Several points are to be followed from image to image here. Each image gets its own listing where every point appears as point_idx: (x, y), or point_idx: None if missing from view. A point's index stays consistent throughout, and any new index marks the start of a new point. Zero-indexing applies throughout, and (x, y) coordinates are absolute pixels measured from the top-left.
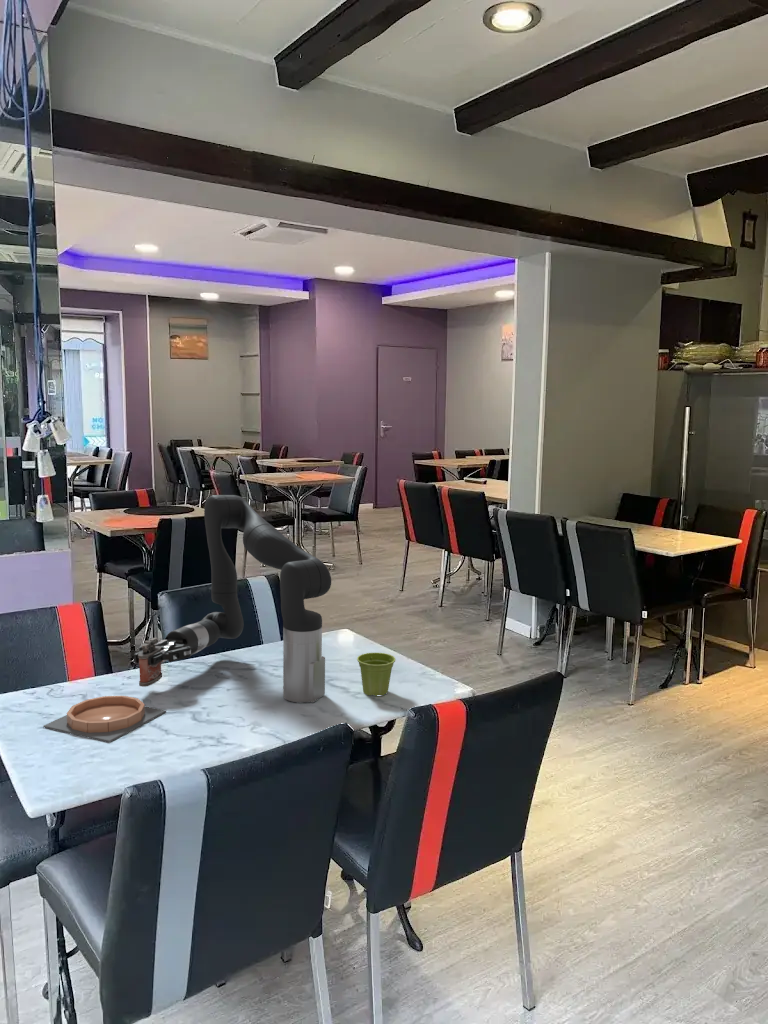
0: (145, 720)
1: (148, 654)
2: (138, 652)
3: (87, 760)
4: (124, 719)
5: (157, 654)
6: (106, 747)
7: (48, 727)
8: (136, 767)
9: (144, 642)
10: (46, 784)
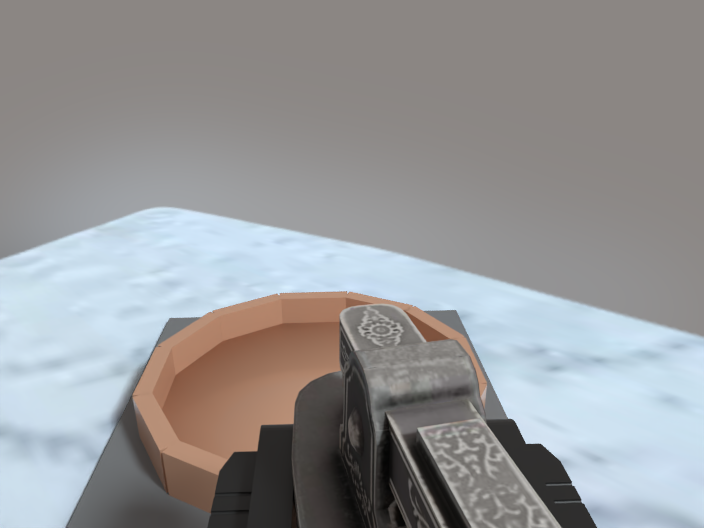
0: (117, 441)
1: (308, 415)
2: (526, 461)
3: (170, 273)
4: (167, 342)
5: (248, 523)
6: (161, 310)
7: (434, 313)
8: (15, 285)
9: (448, 344)
10: (191, 226)
